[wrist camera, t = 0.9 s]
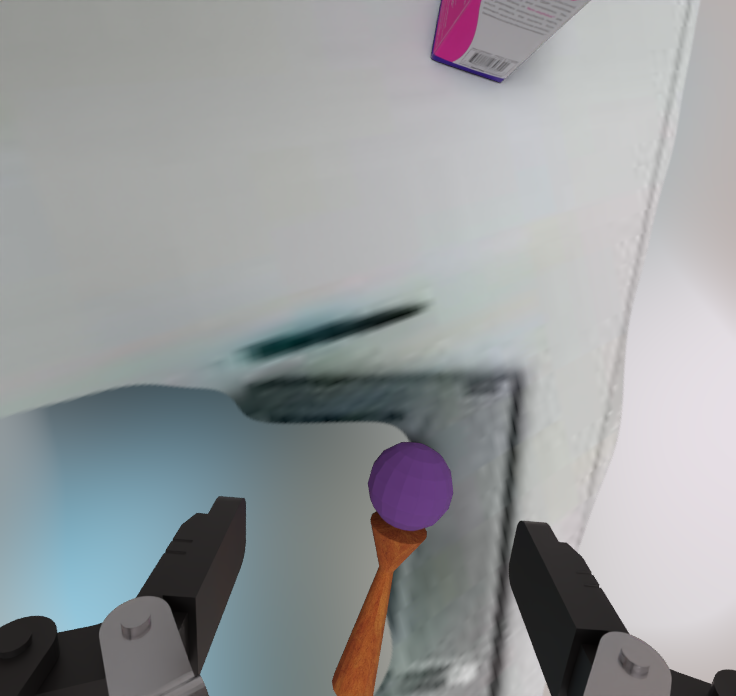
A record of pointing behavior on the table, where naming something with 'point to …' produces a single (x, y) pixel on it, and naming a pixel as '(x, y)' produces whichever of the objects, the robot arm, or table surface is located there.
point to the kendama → (392, 547)
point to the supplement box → (496, 32)
